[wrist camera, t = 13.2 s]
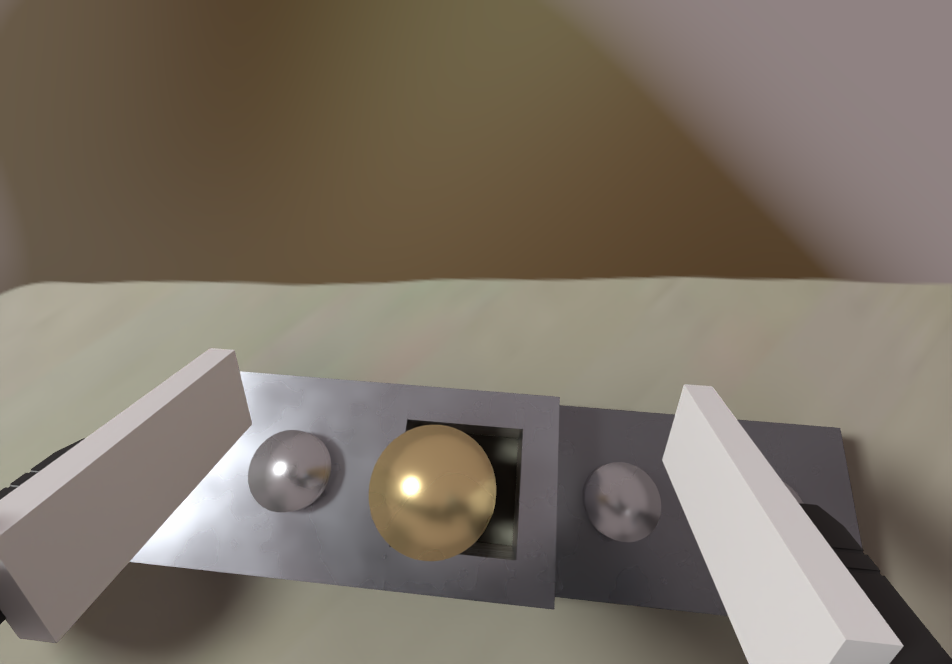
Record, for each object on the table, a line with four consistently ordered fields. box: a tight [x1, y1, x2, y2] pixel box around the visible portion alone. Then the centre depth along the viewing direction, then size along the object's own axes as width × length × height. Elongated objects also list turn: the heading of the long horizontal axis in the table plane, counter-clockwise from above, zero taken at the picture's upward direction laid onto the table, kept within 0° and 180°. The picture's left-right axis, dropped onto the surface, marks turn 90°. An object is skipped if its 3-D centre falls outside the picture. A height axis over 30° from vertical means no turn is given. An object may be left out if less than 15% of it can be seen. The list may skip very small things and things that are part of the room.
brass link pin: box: [369, 425, 496, 561], centre depth 16 cm, size 3×3×12 cm
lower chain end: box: [415, 405, 862, 616], centre depth 20 cm, size 21×8×3 cm, turn 85°
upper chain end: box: [130, 372, 560, 609], centre depth 20 cm, size 17×8×5 cm, turn 85°
